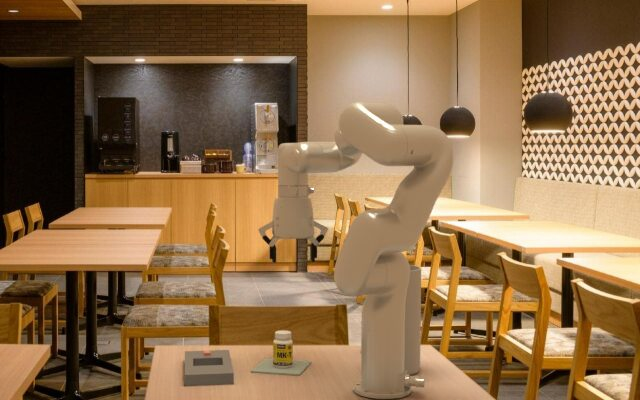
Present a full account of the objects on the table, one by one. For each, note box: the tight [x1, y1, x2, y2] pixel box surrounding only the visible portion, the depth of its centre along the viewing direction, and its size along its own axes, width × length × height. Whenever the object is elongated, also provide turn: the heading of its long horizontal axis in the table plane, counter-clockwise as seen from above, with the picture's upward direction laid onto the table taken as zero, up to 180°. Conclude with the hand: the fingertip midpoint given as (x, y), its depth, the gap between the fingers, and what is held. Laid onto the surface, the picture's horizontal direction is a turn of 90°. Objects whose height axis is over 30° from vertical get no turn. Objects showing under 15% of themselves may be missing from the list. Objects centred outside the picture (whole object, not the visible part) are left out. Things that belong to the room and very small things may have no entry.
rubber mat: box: [250, 358, 312, 377], centre depth 206 cm, size 12×12×1 cm
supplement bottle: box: [272, 329, 294, 368], centre depth 206 cm, size 5×5×8 cm
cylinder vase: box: [404, 264, 422, 376], centre depth 203 cm, size 12×12×25 cm
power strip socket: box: [184, 349, 235, 387], centre depth 202 cm, size 22×11×3 cm, turn 9°
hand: (293, 261), depth 211 cm, fingers open, 9 cm apart
